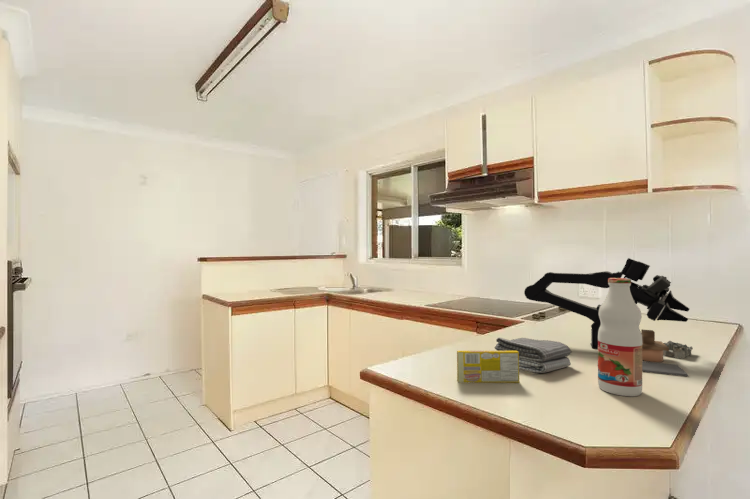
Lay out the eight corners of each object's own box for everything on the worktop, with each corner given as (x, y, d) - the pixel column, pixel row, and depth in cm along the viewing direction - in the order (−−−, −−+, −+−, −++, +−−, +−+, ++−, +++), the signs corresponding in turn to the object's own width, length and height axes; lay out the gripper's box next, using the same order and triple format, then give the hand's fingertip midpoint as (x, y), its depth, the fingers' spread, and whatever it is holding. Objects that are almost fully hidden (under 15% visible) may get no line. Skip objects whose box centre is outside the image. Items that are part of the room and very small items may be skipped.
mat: (640, 371, 111) (640, 369, 111) (633, 362, 121) (633, 360, 121) (688, 376, 107) (688, 374, 107) (677, 366, 116) (677, 364, 116)
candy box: (517, 380, 104) (517, 350, 104) (519, 383, 102) (519, 352, 102) (456, 380, 104) (456, 349, 104) (458, 382, 102) (458, 351, 102)
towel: (545, 377, 107) (545, 349, 107) (490, 362, 122) (490, 337, 122) (572, 367, 116) (572, 341, 116) (518, 354, 131) (518, 331, 131)
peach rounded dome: (635, 360, 123) (635, 347, 123) (630, 354, 130) (630, 342, 130) (666, 363, 120) (666, 350, 120) (659, 356, 127) (659, 344, 127)
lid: (634, 347, 123) (634, 332, 123) (628, 341, 131) (628, 327, 131) (668, 350, 119) (668, 334, 119) (661, 344, 127) (661, 329, 127)
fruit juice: (652, 396, 92) (652, 279, 92) (615, 398, 91) (615, 279, 92) (623, 383, 102) (623, 277, 102) (589, 384, 101) (589, 277, 101)
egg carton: (682, 360, 124) (681, 347, 124) (655, 355, 130) (655, 342, 130) (695, 355, 130) (695, 343, 130) (669, 350, 136) (669, 338, 136)
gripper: (642, 280, 123) (700, 304, 115) (650, 265, 136) (702, 285, 128) (626, 308, 128) (681, 333, 120) (635, 291, 141) (684, 312, 133)
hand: (688, 315), depth 125 cm, fingers open, 9 cm apart
